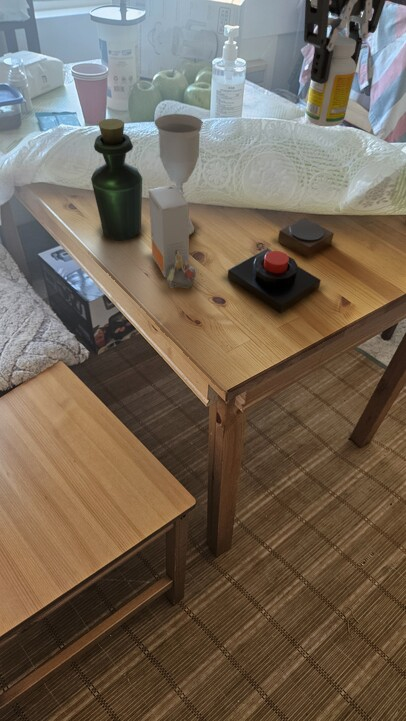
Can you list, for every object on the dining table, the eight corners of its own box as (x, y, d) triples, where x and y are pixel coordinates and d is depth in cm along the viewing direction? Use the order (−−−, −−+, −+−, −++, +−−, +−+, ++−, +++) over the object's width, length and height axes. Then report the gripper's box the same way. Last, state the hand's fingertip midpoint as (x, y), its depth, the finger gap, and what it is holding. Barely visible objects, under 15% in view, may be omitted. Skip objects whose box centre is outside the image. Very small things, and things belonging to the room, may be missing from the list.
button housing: (318, 288, 78) (323, 270, 76) (280, 313, 74) (283, 295, 71) (266, 256, 84) (268, 238, 81) (227, 278, 79) (228, 259, 77)
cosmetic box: (151, 257, 83) (147, 188, 74) (175, 251, 84) (174, 183, 75) (164, 278, 79) (161, 209, 70) (189, 272, 80) (190, 203, 71)
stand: (331, 244, 87) (334, 231, 85) (307, 258, 84) (309, 245, 82) (302, 228, 90) (304, 215, 88) (277, 241, 87) (279, 228, 85)
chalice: (154, 237, 87) (149, 129, 74) (163, 216, 91) (159, 112, 78) (196, 242, 86) (199, 134, 73) (203, 220, 91) (206, 116, 77)
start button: (292, 268, 76) (294, 258, 75) (276, 277, 75) (277, 267, 73) (274, 257, 78) (276, 247, 77) (258, 266, 77) (259, 256, 75)
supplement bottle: (301, 123, 69) (314, 43, 62) (308, 109, 72) (321, 31, 65) (341, 130, 68) (359, 48, 61) (346, 115, 71) (363, 37, 64)
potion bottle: (123, 212, 92) (113, 108, 79) (155, 229, 88) (150, 123, 75) (88, 230, 87) (71, 123, 74) (120, 249, 84) (109, 140, 71)
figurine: (183, 271, 80) (183, 238, 76) (203, 283, 78) (204, 250, 74) (158, 285, 78) (157, 252, 73) (178, 298, 76) (178, 265, 71)
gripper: (356, -90, 49) (321, 98, 61) (433, -97, 55) (388, 73, 68) (296, -98, 52) (274, 80, 65) (375, -104, 59) (342, 59, 71)
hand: (333, 76), depth 66 cm, fingers closed on supplement bottle, 5 cm apart
